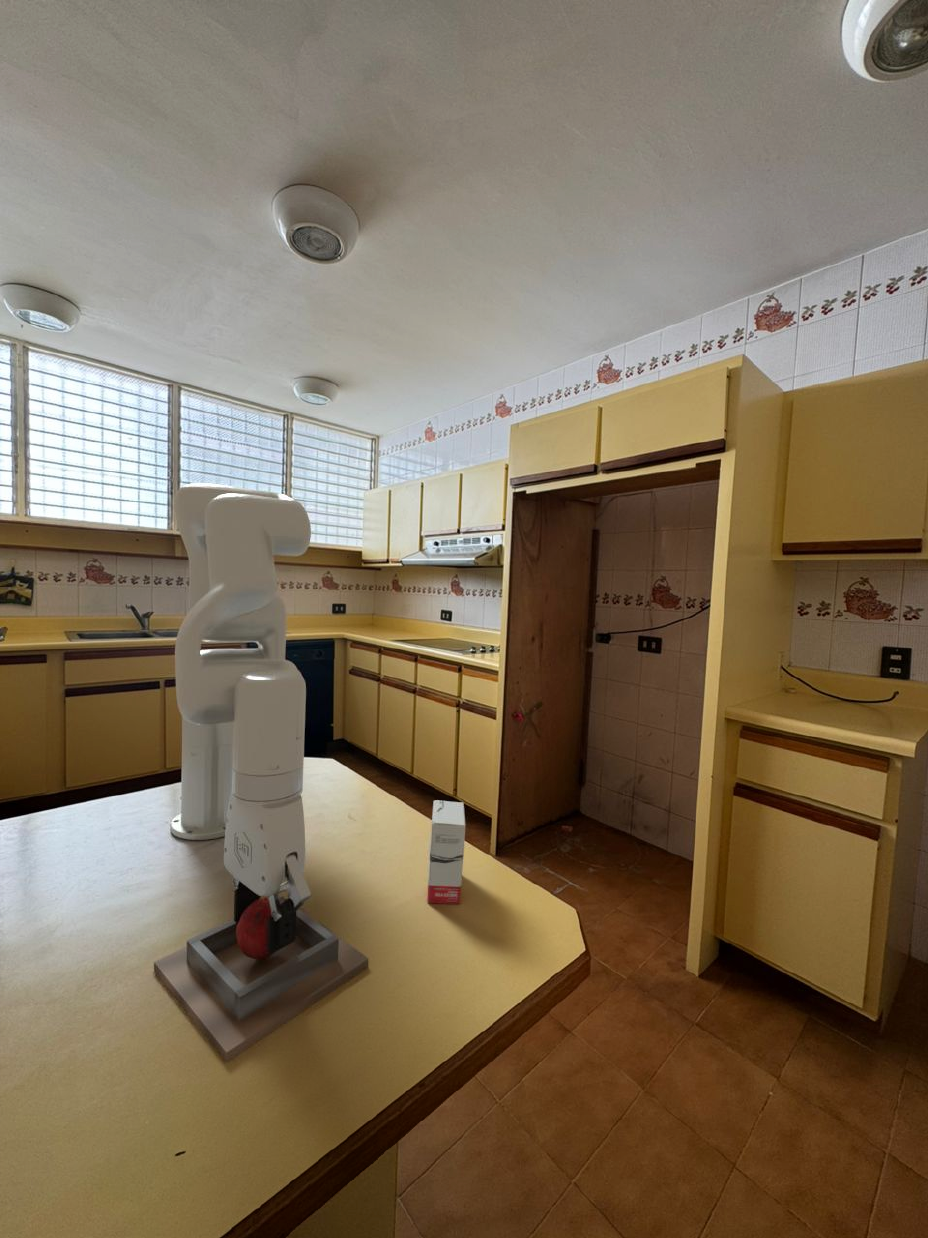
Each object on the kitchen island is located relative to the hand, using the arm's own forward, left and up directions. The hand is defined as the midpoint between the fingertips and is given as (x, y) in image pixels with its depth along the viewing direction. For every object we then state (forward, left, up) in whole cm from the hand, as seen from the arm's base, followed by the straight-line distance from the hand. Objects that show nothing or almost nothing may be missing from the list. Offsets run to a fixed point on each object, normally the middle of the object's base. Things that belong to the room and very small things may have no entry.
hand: (263, 930), depth 61 cm
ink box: (+4, +27, -5) cm, 28 cm away
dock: (0, 0, -5) cm, 5 cm away
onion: (0, 0, -4) cm, 4 cm away
